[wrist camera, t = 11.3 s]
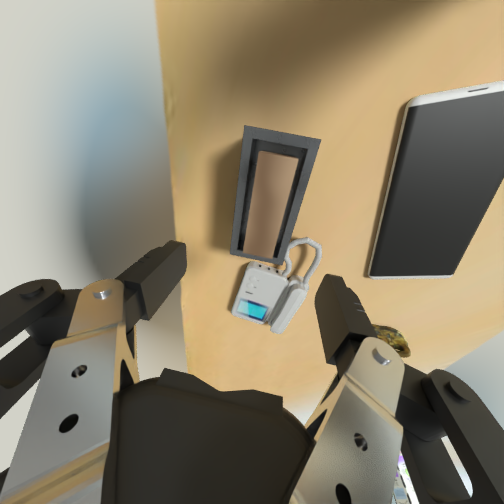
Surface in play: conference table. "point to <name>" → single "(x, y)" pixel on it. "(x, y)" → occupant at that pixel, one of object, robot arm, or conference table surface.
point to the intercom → (273, 291)
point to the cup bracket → (251, 146)
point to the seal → (393, 339)
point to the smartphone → (440, 182)
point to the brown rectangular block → (268, 202)
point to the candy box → (403, 485)
